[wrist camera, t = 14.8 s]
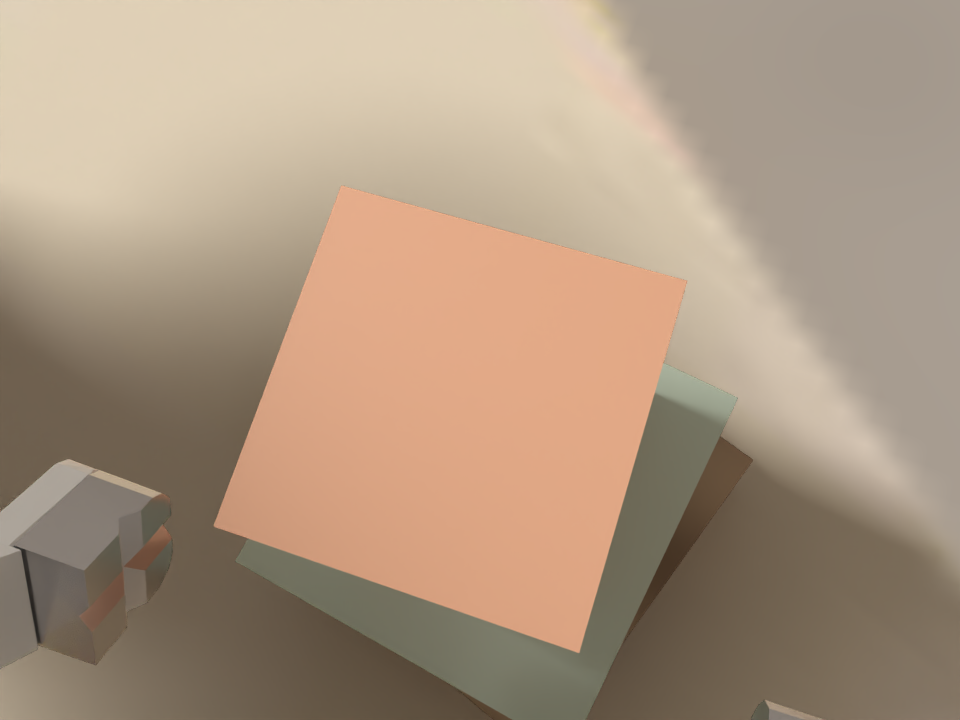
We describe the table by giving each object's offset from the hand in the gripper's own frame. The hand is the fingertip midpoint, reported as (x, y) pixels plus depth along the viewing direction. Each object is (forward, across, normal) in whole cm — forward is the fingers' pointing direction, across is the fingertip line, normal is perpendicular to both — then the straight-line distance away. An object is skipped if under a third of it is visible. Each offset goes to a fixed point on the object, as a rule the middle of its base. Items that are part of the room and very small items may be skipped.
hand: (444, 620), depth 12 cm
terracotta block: (+7, -1, -3) cm, 8 cm away
